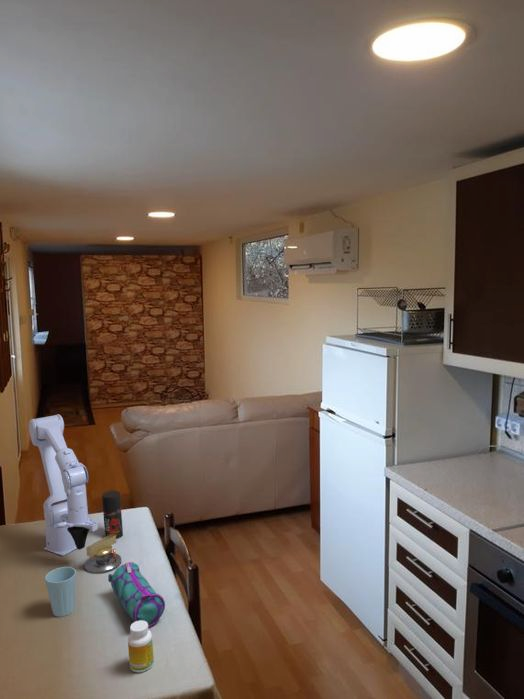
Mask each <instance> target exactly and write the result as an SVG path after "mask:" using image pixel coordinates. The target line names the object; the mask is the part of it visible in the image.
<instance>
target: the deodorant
mask: <svg viewBox="0 0 524 699" xmlns="http://www.w3.org/2000/svg"><path fill="white" fill-rule="evenodd" d="M101 499H102V510H103V511H102V514H103V524H104V526H103V527H104V538H105V537H106V536H108V535H110V534H114V535H116V540H118V539H120V538H122V537H123V536H124V532H123V518H122V517H123V516H122V502H121V492H120V491H118V490H110V491H105V492H103V493H102V494H101Z"/></svg>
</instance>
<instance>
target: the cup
mask: <svg viewBox="0 0 524 699" xmlns="http://www.w3.org/2000/svg"><path fill="white" fill-rule="evenodd" d="M76 579H77V570H76V569H75V568H73V567H70V566H63V567H62V566H61V567H57V568H55V569H52V570H51V571H49V572H48V573H47V574H46V575H45V577H44V580H45V583H46V588H47V589H46V590H47V592H48V597H49V602H50V606H51V611H52V615H53V616H54V617H57V618H62V617H67V616H69V615H71V614H72V613H73V612H74V611H75V608H76V581H77V580H76Z"/></svg>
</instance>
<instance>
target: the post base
mask: <svg viewBox="0 0 524 699" xmlns="http://www.w3.org/2000/svg"><path fill="white" fill-rule="evenodd" d="M116 552H117V551H116V549H115V548H114V549H113V548H112V553H111V554H109V555H107V556H104V557H95V558H91V557H90V556H89V558H87V559H86V560H85V562H84V564H83V565H84V566H83V567H84V570H85V572H87V573H90V574H96V575H97V574H98V575H100V574H106V573H109V572H112V571H113V570H116V569H117V568H119V567H120V566H121V565H122V556H121V555H120V554H119V553H116Z"/></svg>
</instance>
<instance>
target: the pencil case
mask: <svg viewBox="0 0 524 699" xmlns="http://www.w3.org/2000/svg"><path fill="white" fill-rule="evenodd" d="M107 578H108V580H107V581H108V582H109V583H110V586H111V588H112V590H113V592H114V594H115V596H116V597H117V599H118V600H119V602H120V603H121V605H122V607H123V609H124V610H125V612H126V613H127V614H128V615H129V617H130V619H131V620H132V621H133V623H134V622H136V621H140V620H142V621H146V622H147V623H148V629H149V628H151V627H153V626H154V625H155V624H156V623H157V622H158V621H159V620H160V618H161V617H162V615H163V614H164V611H165V608H166V601H165V600H164V597H163V596H162V595H160V594H159V593H157V592H156V590H154V588H153V587H152V586H151V584H150V583H149V582H148V580H147V579H146V578H145V576H144V575H143V574H142V573H141V570H140V567H139V565H138V564H137V563H135V562H133V561H132V562H131V561H129V562H126V563H124V564H121V565H120V566H119V567H117V568H116V569H115V571H114V573H113V574H112V573H110V574H108V576H107Z"/></svg>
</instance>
